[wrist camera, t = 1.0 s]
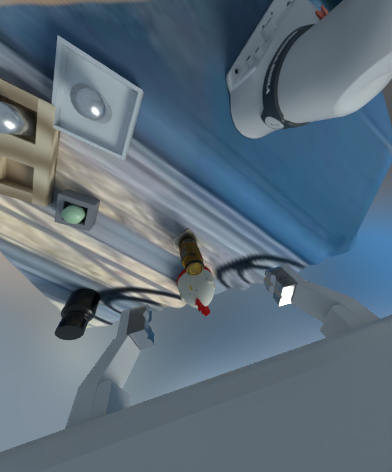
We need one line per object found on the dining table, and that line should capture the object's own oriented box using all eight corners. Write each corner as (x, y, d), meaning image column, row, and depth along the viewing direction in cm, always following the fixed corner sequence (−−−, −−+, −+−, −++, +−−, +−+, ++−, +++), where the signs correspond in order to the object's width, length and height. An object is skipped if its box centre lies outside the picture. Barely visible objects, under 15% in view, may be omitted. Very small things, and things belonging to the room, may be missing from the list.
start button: (69, 201, 36) (62, 205, 33) (88, 207, 37) (83, 211, 35) (66, 215, 37) (60, 220, 35) (85, 220, 39) (80, 225, 36)
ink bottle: (78, 309, 55) (60, 346, 45) (63, 293, 50) (40, 330, 40) (106, 301, 56) (95, 335, 46) (94, 284, 51) (79, 318, 41)
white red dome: (199, 259, 56) (212, 292, 43) (218, 278, 63) (233, 312, 50) (169, 280, 58) (173, 317, 45) (190, 297, 65) (198, 333, 52)
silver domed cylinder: (10, 101, 28) (-30, 89, 22) (41, 116, 30) (12, 108, 24) (10, 128, 29) (-27, 123, 23) (39, 140, 31) (12, 138, 25)
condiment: (184, 256, 54) (190, 282, 44) (170, 240, 50) (173, 264, 39) (202, 245, 53) (212, 269, 43) (189, 228, 49) (198, 249, 39)
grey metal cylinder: (89, 90, 29) (72, 75, 23) (114, 104, 31) (104, 94, 25) (84, 115, 31) (68, 108, 25) (109, 128, 33) (98, 124, 27)
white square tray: (65, 44, 26) (57, 35, 24) (143, 94, 32) (142, 90, 29) (56, 127, 31) (49, 126, 29) (125, 159, 36) (123, 160, 34)
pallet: (-9, 73, 26) (-27, 65, 24) (62, 109, 30) (54, 105, 28) (-6, 185, 33) (-19, 188, 31) (52, 202, 37) (44, 206, 35)
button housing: (67, 189, 37) (58, 193, 33) (100, 200, 39) (94, 205, 36) (63, 215, 39) (54, 221, 36) (94, 224, 42) (89, 230, 39)
